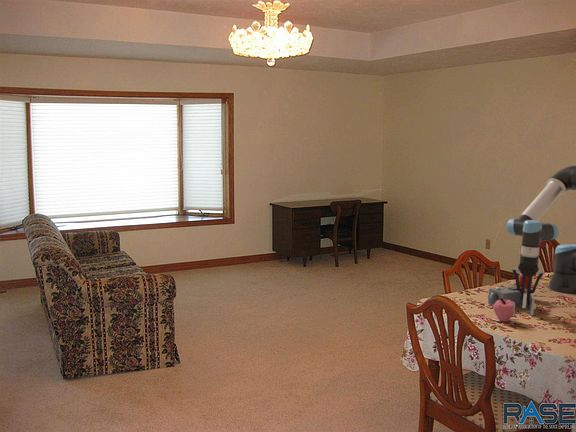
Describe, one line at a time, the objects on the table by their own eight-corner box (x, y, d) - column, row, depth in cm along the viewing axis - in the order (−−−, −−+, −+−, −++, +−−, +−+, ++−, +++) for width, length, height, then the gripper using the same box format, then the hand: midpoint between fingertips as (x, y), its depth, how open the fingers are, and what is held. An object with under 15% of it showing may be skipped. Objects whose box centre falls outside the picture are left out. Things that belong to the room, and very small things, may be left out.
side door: (528, 304, 285) (529, 289, 284) (532, 305, 285) (533, 290, 284) (530, 314, 270) (531, 299, 269) (535, 315, 269) (536, 299, 268)
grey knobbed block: (514, 299, 294) (516, 283, 293) (528, 305, 286) (530, 288, 284) (484, 303, 287) (485, 287, 285) (498, 309, 278) (499, 292, 277)
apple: (511, 325, 256) (513, 302, 254) (490, 321, 260) (491, 298, 259) (516, 319, 264) (518, 296, 262) (495, 315, 268) (497, 293, 267)
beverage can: (531, 300, 293) (533, 276, 291) (517, 299, 294) (519, 275, 292) (529, 297, 299) (531, 273, 297) (515, 296, 300) (517, 272, 298)
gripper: (513, 255, 271) (507, 306, 275) (544, 259, 265) (538, 311, 269) (515, 252, 278) (510, 302, 281) (546, 255, 272) (540, 307, 276)
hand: (524, 307), depth 275 cm, fingers closed
